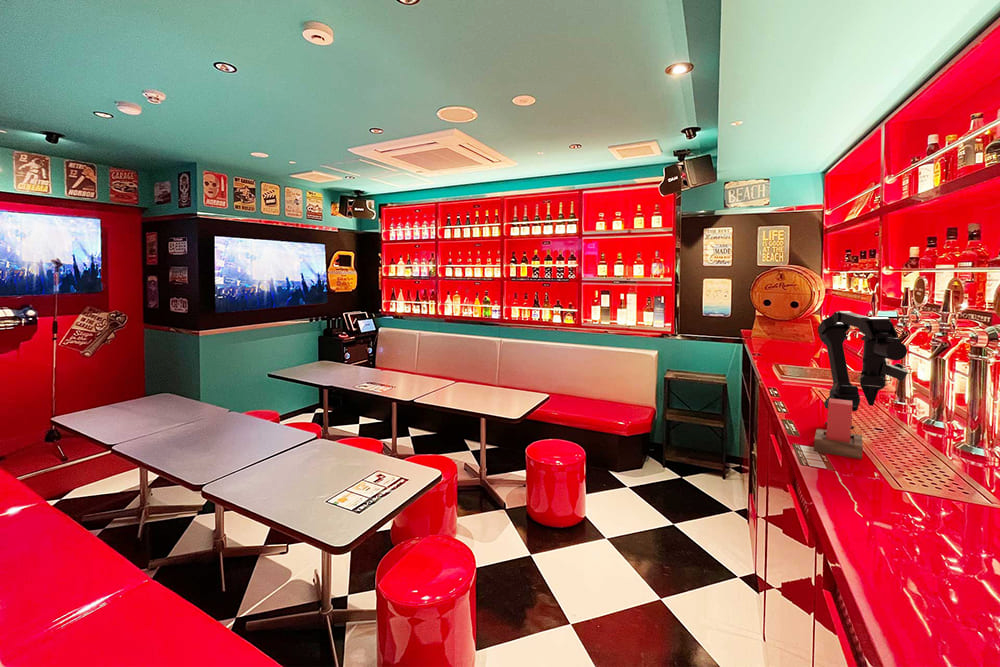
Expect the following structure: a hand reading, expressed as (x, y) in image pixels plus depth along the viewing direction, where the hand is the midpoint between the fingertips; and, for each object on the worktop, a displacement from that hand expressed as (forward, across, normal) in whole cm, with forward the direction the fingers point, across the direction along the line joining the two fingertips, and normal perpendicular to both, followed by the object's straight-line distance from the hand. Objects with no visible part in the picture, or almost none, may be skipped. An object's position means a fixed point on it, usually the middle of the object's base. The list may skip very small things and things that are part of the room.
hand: (871, 402), depth 154 cm
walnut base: (+13, -15, +8) cm, 21 cm away
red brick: (+10, -15, +8) cm, 19 cm away
